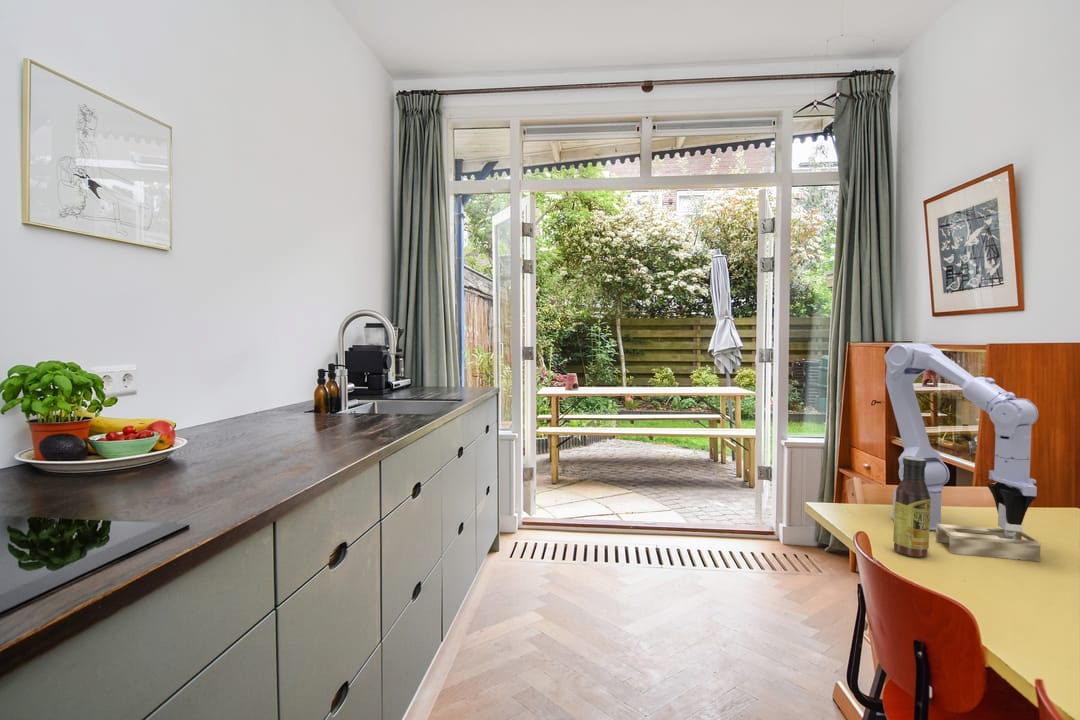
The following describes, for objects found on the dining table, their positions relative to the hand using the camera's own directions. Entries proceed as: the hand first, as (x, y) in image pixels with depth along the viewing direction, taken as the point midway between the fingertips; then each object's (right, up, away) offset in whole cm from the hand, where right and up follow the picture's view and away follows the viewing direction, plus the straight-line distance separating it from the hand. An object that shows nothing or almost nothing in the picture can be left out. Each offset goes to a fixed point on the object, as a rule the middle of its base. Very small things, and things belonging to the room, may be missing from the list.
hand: (1010, 521), depth 119 cm
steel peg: (0, -6, 0) cm, 6 cm away
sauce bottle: (-21, -7, 0) cm, 22 cm away
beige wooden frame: (-4, -7, +1) cm, 8 cm away
